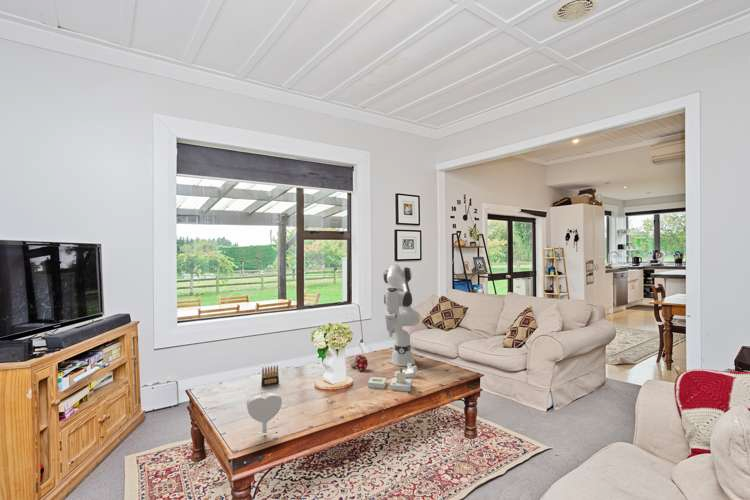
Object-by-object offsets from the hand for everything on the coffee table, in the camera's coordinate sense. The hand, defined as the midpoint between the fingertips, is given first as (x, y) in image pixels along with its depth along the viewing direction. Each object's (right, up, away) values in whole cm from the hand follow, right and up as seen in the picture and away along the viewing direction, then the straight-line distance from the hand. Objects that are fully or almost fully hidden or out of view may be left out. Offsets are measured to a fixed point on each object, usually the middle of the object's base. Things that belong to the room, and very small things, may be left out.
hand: (392, 334), depth 242 cm
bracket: (+10, -31, +12) cm, 35 cm away
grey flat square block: (-10, -31, -6) cm, 33 cm away
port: (+5, -31, -9) cm, 33 cm away
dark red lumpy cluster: (-22, -31, +27) cm, 47 cm away
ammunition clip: (-77, -31, -3) cm, 83 cm away
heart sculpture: (-63, -32, -64) cm, 95 cm away
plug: (+5, -30, -8) cm, 32 cm away
